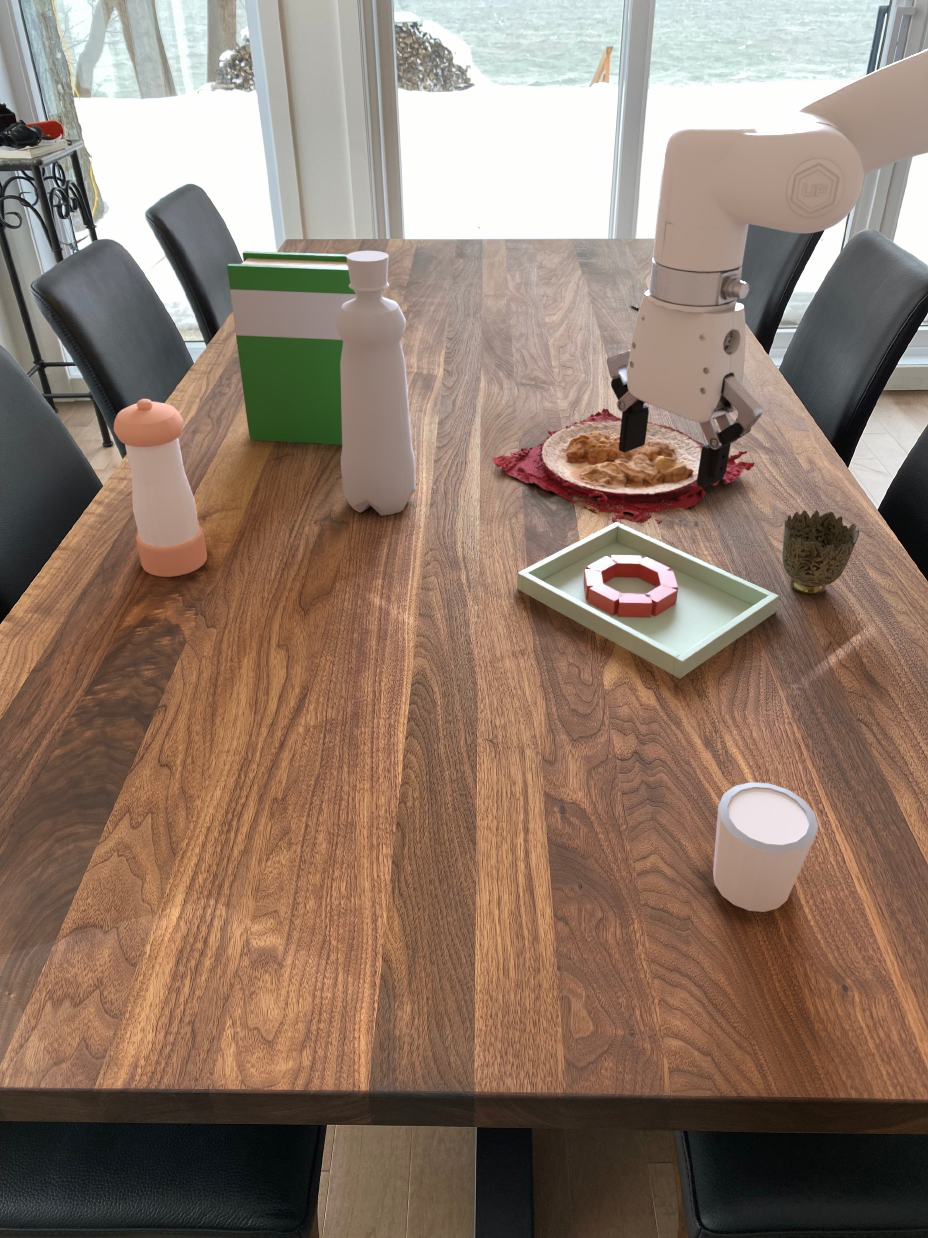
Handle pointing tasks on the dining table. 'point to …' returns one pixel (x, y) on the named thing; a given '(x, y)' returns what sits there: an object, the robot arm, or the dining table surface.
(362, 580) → the dining table surface
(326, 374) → the hardback book
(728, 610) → the tray
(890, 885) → the dining table surface
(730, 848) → the white cylinder
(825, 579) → the cup
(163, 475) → the pepper shaker
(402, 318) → the bottle
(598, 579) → the ring
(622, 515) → the plate with food
